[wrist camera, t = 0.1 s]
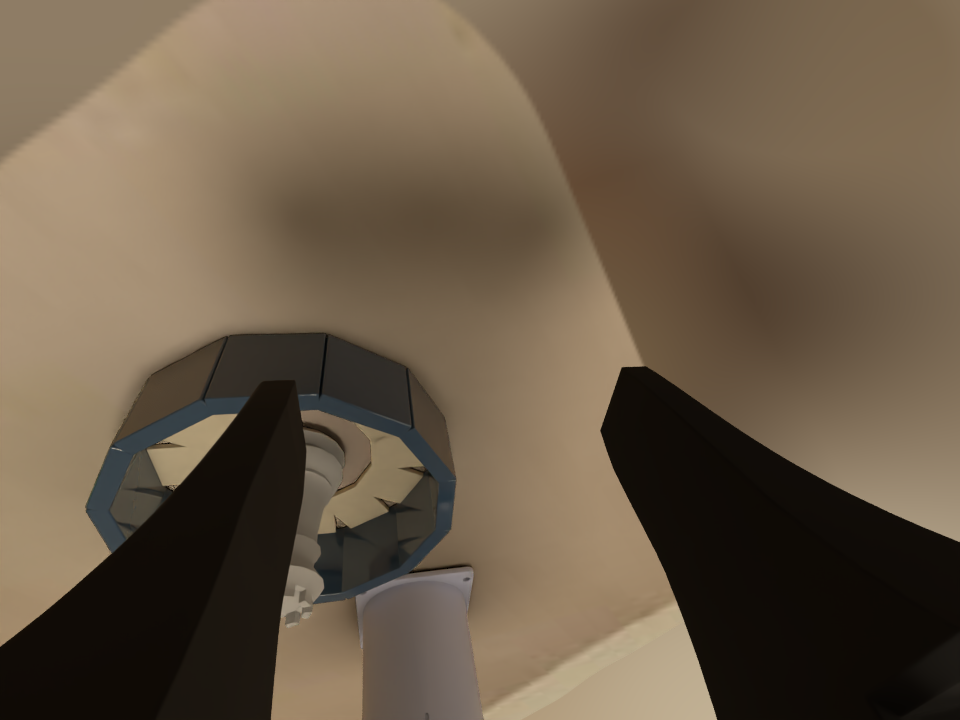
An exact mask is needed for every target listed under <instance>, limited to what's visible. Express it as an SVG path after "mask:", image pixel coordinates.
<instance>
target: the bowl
mask: <svg viewBox="0 0 960 720" xmlns="http://www.w3.org/2000/svg"><path fill="white" fill-rule="evenodd" d="M275 380H295V382H296V388H297V394H298V400H299V407H300V411H304V410H319V411H322V412H325V413H328V414H331V415H334V416H337V417H340V418H343V419H346V420H349V421H352V422H353V423H354V424H355V425H356V426H357V427H358V428H359V429H360V430H361V431H362V432H363V433H364V434H365V435H366V436H367V437H368V439H369V440H370V447H371V463H370V464H369V466H368V467H367V468H366V470H365V471H364V472H363V474H362V475H361V476H360V477H359V479H358V480H357V481H356V483H354V484H352V485H350V486H348V487H346V488H343V489H341V490H339V491H337V492H336V493H335V494H334V495H333V496H332V498H331V500H330V501H329V503H328V505H326V506H325V508H324V510H323V514H322V518H321V522H320V526H319V530H318V537H317V544H318V545H319V546H320V549H321V555H320V557H319V558H318V560H317V561H316V562H315V563H314V568H315V570H316V571H317V572H318V574H319V575H320V576H321V577H322V579H323V583H324V589H323V591H322V592H321V594H320V595H319V597H318V598H317V599H316V600H315V601H314V602H313V604H319V603H326V602H334V601H342V600H345V599H350V598H352V597H355V596H357V595H359V594H362V593H364V592H366V591H369V590H371V589H373V588H376V587H378V586H380V585H383V584H385V583H387V582H390V581H392V580H394V579H397V578H399V577H401V576H404V575H406V574H408V573H409V571H412V570H413V569H414V568H415V567H416V566H417V565H418V564H419V563H420V562H421V561H422V560H423V559H424V558H425V557H426V556H427V555H428V553H429V552H430V551H431V550H432V549H433V548H434V547H435V546H436V545H437V544H438V543H439V542H440V541H441V540H442V539H443V538H444V537H445V536H446V535H447V534H448V533H449V531H450V530H451V527H452V517H453V507H454V498H455V488H456V475H455V470H454V464H453V459H452V453H451V448H450V442H449V437H448V432H447V426H446V421H445V417H444V416H443V414H442V413H441V412H440V410H439V409H438V408H437V406H436V405H435V404H434V402H433V401H432V399H431V398H430V397H429V395H428V394H427V393H426V391H425V390H424V389H423V387H422V386H421V385H420V383H419V382H418V381H417V379H416V378H415V377H414V375H413V374H412V373H411V371H410V370H409V369H408V368H406V367H405V366H403V365H401V364H398V363H396V362H394V361H391V360H389V359H387V358H384V357H382V356H379V355H377V354H375V353H372V352H370V351H368V350H365V349H363V348H360V347H358V346H356V345H353V344H351V343H349V342H346V341H344V340H341V339H339V338H337V337H334V336H332V335H328V336H327V338H326V334H325V333H316V334H266V335H230V336H229V338H228V337H224V338H222V339H220V340H218V341H216V342H214V343H212V344H210V345H208V346H207V347H205V348H203V349H201V350H199V351H197V352H195V353H193V354H191V355H189V356H187V357H185V358H184V359H182V360H180V361H178V362H176V363H174V364H172V365H170V366H168V367H166V368H164V369H162V370H161V371H159V372H157V373H155V374H153V375H151V377H150V378H149V379H148V380H147V381H146V383H145V385H144V387H143V388H142V390H141V392H140V394H139V396H138V397H137V399H136V401H135V403H134V404H133V406H132V408H131V410H130V411H129V413H128V415H127V417H126V419H125V420H124V422H123V424H122V426H121V427H120V429H119V431H118V433H117V435H116V436H115V438H114V440H113V442H112V443H111V445H110V447H109V450H108V452H107V455H106V457H105V459H104V462H103V464H102V467H101V469H100V472H99V474H98V477H97V479H96V481H95V484H94V486H93V489H92V491H91V494H90V496H89V499H88V501H87V503H86V506H85V508H86V513H87V514H88V516H89V518H90V519H91V521H92V522H93V524H94V526H95V527H96V529H97V531H98V532H99V534H100V535H101V537H102V539H103V540H104V542H105V543H106V545H107V547H108V548H109V550H110V552H111V553H113V552H114V551H115V550H116V549H117V548H118V547H119V546H120V545H121V544H122V543H123V542H124V541H125V540H126V539H128V538H129V537H130V536H131V535H132V534H133V533H134V532H135V531H136V530H137V529H138V528H139V527H140V526H141V525H142V524H143V523H144V522H145V521H146V520H147V519H148V518H149V517H150V516H151V515H152V514H153V513H154V512H155V511H156V510H157V509H158V508H159V507H160V506H161V505H162V503H163V502H164V501H165V500H166V499H167V498H168V497H169V496H170V495H171V494H172V493H173V492H172V491H170V490H169V489H167V488H166V486H171V485H180V484H181V482H182V481H183V480H184V479H185V478H186V477H187V476H188V475H189V474H190V472H191V471H192V470H193V469H194V468H195V467H196V466H197V465H198V463H199V462H200V461H201V460H202V459H203V457H204V456H205V455H206V454H207V452H208V451H209V450H210V449H211V447H212V446H213V445H214V444H215V443H216V441H217V440H218V439H219V438H220V436H221V435H222V434H223V433H224V431H225V430H226V429H227V427H228V426H229V425H230V424H231V422H232V421H233V420H234V418H235V417H236V416H237V414H238V413H239V412H240V410H241V409H242V407H243V406H244V405H245V403H246V402H247V401H248V399H249V398H250V396H251V395H252V393H253V392H254V391H255V389H256V388H257V386H258V385H259V384H260V383H261V382H263V381H275ZM160 441H166V442H170V443H173V444H159V445H154V444H156V443H158V442H160ZM418 466H424V467H425V468H426V470H425V472H424V473H423V472H420V471H417V470H414V469H410V468H407V467H418ZM381 499H384V500H388V501H391V502H395V503H397V504H396V505H394V506H392V507H390V508H389V507H388V506H387V505H386V504H385V503H384V502H383V501H382V500H381ZM335 516H336V517H337V518H338V519H340V520H341V521H342V522H343V523H344V524H346V525H347V526H348V527H345V528H338V529H337V528H336V521H335Z"/></svg>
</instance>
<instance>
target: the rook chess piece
mask: <svg viewBox="0 0 960 720" xmlns="http://www.w3.org/2000/svg"><path fill="white" fill-rule="evenodd" d="M303 431H304V437H305V443H306V449H307V453H306V468H305V482H304V495H303V500H302V506H301V511H300V516H299V521H298V527H297V532H296V537H295V542H294V547H293V552H292V557H291V562H290V568H289V573H288V578H287V583H286V588H285V593H284V598H283V604H282V611H281V617H286V623H285V625H286V627H287V628H290V627H293V626H296V625H299V623H300V613H301V612H302V614H301V618H306V619H308V618H309V616H310V615H311V613H312V609H313V602H314V601H315V600H316V599H317V598H318V597H319V595H320V594H321V592H322V591H323V589H324V583H323V579H322V577H321V576H320V575H319V574H318V572H317V571H316V570H315V568H314V563H315V562H316V561H317V560H318V558H319V557H320V555H321V549H320V546H319V545H318V544H317V537H318V530H319V526H320V522H321V518H322V514H323V510H324V508H325V506H326V505H328V503H329V501H330V500H331V498H332V496H333V495H334V494H335V493H336V491H337V489H338V487H339V486H340V484H341V481H342V479H343V474H342V469H343V467H344V466H345V459H344V452H343V451H342V449H341V448H340V447H339V445H338V444H337V442H336V441H334V440H333V439H332V438H331V437H329V436H327V435H326V434H324V433H322V432H321V431H318V430H314V429H310V428H305V427H303Z"/></svg>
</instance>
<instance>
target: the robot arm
mask: <svg viewBox="0 0 960 720" xmlns="http://www.w3.org/2000/svg"><path fill="white" fill-rule="evenodd" d="M600 431H601V434H602V437H603V440H604V443H605V446H606V449H607V452H608V455H609V458H610V461H611V463H612V466H613V469H614V471H615V473H616V475H617V477H618V479H619V481H620V483H621V485H622V487H623V489H624V491H625V493H626V495H627V497H628V499H629V501H630V503H631V505H632V507H633V509H634V511H635V513H636V514H637V516H638V518H639V520H640V522H641V524H642V526H643V528H644V530H645V532H646V534H647V536H648V538H649V540H650V542H651V544H652V546H653V547H654V549H655V551H656V553H657V556H658V558H659V560H660V562H661V564H662V566H663V568H664V571H665V573H666V575H667V578H668V580H669V583H670V586H671V588H672V591H673V593H674V596H675V598H676V601H677V603H678V606H679V608H680V611H681V614H682V616H683V619H684V622H685V625H686V627H687V630H688V633H689V636H690V638H691V641H692V644H693V647H694V649H695V652H696V655H697V658H698V661H699V664H700V667H701V670H702V673H703V676H704V679H705V683H706V685H707V689H708V692H709V695H710V698H711V701H712V704H713V707H714V710H715V714H716V717H717V720H960V542H958V541H955V540H953V539H951V538H948V537H945V536H943V535H941V534H938V533H936V532H933V531H931V530H928V529H926V528H923V527H921V526H919V525H916V524H914V523H912V522H910V521H907V520H905V519H903V518H900V517H898V516H896V515H894V514H892V513H889V512H887V511H885V510H883V509H881V508H879V507H877V506H874V505H873V504H870V503H868V502H866V501H864V500H862V499H860V498H858V497H856V496H854V495H851V494H850V493H848V492H846V491H844V490H842V489H840V488H838V487H836V486H834V485H832V484H830V483H828V482H826V481H824V480H823V479H821V478H819V477H817V476H815V475H813V474H811V473H810V472H808V471H806V470H804V469H802V468H801V467H799V466H797V465H795V464H794V463H792V462H790V461H788V460H787V459H785V458H783V457H782V456H780V455H778V454H777V453H775V452H773V451H772V450H770V449H769V448H767V447H765V446H764V445H762V444H761V443H759V442H757V441H756V440H754V439H753V438H751V437H749V436H748V435H746V434H745V433H743V432H742V431H740V430H739V429H737V428H735V427H734V426H733V425H731V424H730V423H728V422H727V421H725V420H724V419H722V418H721V417H720V416H718V415H717V414H715V413H714V412H712V411H711V410H709V409H708V408H707V407H705V406H704V405H702V404H701V403H699V402H698V401H697V400H695V399H693V398H692V397H691V396H689V395H688V394H687V393H685V392H684V391H682V390H681V389H679V388H678V387H677V386H675V385H674V384H672V383H671V382H669V381H668V380H666V379H665V378H663V377H662V376H660V375H659V374H657V373H656V372H654V371H653V370H651V369H649V368H648V367H646V366H644V367H622V368H621V371H620V374H619V377H618V380H617V383H616V386H615V389H614V392H613V395H612V398H611V401H610V404H609V407H608V410H607V413H606V416H605V419H604V422H603V424H602V427H601V430H600ZM306 453H307V449H306V443H305V437H304V431H303V425H302V419H301V413H300V407H299V400H298V394H297V388H296V382H295V380H275V381H263V382H261V383H260V384H259V385H258V386H257V388H256V389H255V391H254V392H253V393H252V395H251V396H250V398H249V399H248V401H247V402H246V403H245V405H244V406H243V407H242V409H241V410H240V412H239V413H238V414H237V416H236V417H235V418H234V420H233V421H232V422H231V424H230V425H229V426H228V427H227V429H226V430H225V431H224V433H223V434H222V435H221V436H220V438H219V439H218V440H217V441H216V443H215V444H214V445H213V446H212V447H211V449H210V450H209V451H208V452H207V454H206V455H205V456H204V457H203V459H202V460H201V461H200V462H199V463H198V465H197V466H196V467H195V468H194V469H193V470H192V471H191V472H190V474H189V475H188V476H187V477H186V478H185V479H184V480H183V481H182V482H181V484H180V485H179V486H178V487H177V488H176V489H175V490H174V491H173V493H172V494H171V495H170V496H169V497H168V498H167V499H166V500H165V501H164V502H163V503H162V505H161V506H160V507H159V508H158V509H157V510H156V511H155V512H154V513H153V514H152V515H151V516H150V517H149V518H148V519H147V520H146V521H145V522H144V523H143V524H142V525H141V526H140V527H139V528H138V529H137V530H136V531H135V532H134V533H133V534H132V535H131V536H130V537H129V538H128V539H126V540H125V541H124V542H123V543H122V544H121V545H120V546H119V547H118V548H117V549H116V550H115V551H114V552H113V553H112V554H111V555H110V556H108V557H107V558H106V559H105V560H104V561H103V562H102V563H101V564H99V565H98V566H97V567H96V568H95V569H94V570H93V571H92V572H90V573H89V574H88V575H87V576H86V577H85V578H84V579H83V580H81V581H80V582H79V583H78V584H77V585H76V586H75V587H74V588H72V589H71V590H70V591H69V592H68V593H67V594H65V595H64V596H63V597H62V598H61V599H60V600H58V601H57V602H56V603H55V604H54V605H52V606H51V607H50V608H49V609H48V610H46V611H45V612H44V613H43V614H42V615H40V616H39V617H38V618H37V619H35V620H34V621H33V622H31V623H30V624H29V625H28V626H26V627H25V628H24V629H23V630H21V631H20V632H19V633H17V634H16V635H15V636H14V637H12V638H11V639H10V640H8V641H7V642H6V643H5V644H3V645H2V646H1V647H0V720H271V709H272V698H273V686H274V675H275V665H276V655H277V644H278V634H279V624H280V617H281V611H282V604H283V598H284V593H285V588H286V583H287V578H288V573H289V568H290V562H291V557H292V552H293V547H294V542H295V537H296V532H297V527H298V521H299V516H300V511H301V506H302V500H303V495H304V482H305V468H306ZM473 576H474V573H473V568H471V567H459V568H451V569H443V570H435V571H426V572H418V573H410V574H406V575H404V576H401V577H399V578H397V579H394V580H392V581H390V582H387V583H385V584H383V585H380V586H378V587H376V588H373V589H371V590H369V591H366V592H364V593H362V594H359V595H357V596H355V600H356V609H357V618H358V628H359V637H360V646H361V649H363V699H362V720H484V718H483V712H482V705H481V699H480V693H479V687H478V680H477V674H476V668H475V662H474V656H473V649H472V643H471V637H470V631H469V624H468V618H467V612H468V606H469V600H470V594H471V588H472V582H473Z"/></svg>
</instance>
